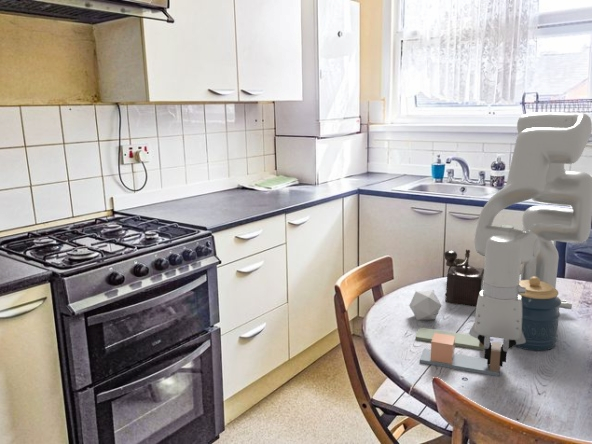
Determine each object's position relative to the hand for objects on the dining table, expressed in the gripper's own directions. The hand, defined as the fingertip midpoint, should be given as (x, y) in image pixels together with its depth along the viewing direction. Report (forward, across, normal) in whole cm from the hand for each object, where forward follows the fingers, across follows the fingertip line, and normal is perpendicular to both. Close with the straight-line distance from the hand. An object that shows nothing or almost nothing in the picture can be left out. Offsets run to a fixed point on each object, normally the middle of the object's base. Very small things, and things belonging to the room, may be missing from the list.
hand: (495, 362), depth 123 cm
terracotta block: (+1, +12, 0) cm, 12 cm away
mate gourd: (+2, +14, -57) cm, 59 cm away
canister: (+2, -8, -19) cm, 21 cm away
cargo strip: (+2, +8, 0) cm, 8 cm away
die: (+2, +20, -24) cm, 31 cm away
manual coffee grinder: (+2, +11, -40) cm, 42 cm away
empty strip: (+2, +11, -12) cm, 16 cm away
